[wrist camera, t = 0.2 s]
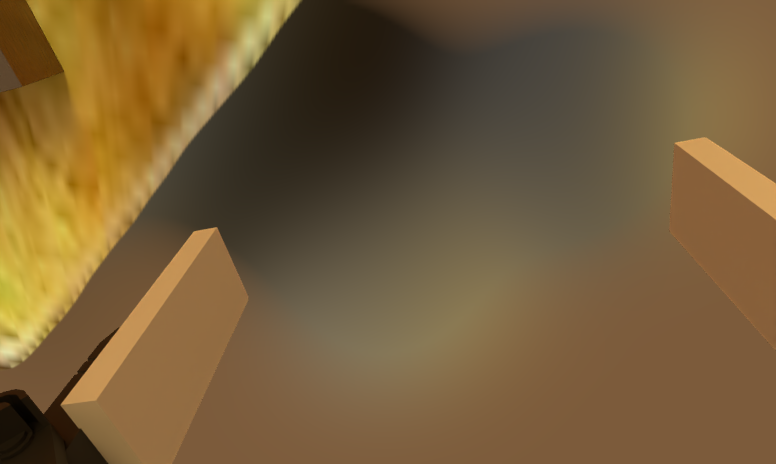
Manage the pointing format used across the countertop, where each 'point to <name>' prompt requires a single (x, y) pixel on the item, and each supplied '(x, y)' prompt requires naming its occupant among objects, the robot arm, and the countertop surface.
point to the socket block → (23, 47)
